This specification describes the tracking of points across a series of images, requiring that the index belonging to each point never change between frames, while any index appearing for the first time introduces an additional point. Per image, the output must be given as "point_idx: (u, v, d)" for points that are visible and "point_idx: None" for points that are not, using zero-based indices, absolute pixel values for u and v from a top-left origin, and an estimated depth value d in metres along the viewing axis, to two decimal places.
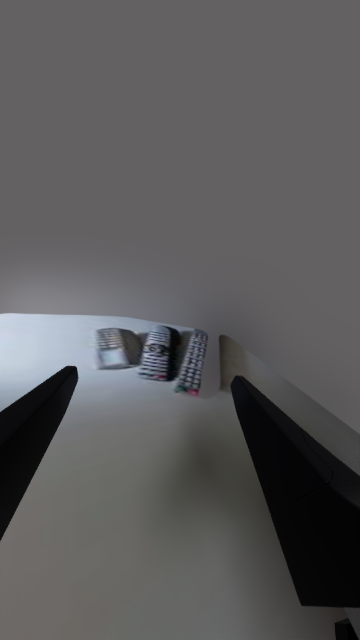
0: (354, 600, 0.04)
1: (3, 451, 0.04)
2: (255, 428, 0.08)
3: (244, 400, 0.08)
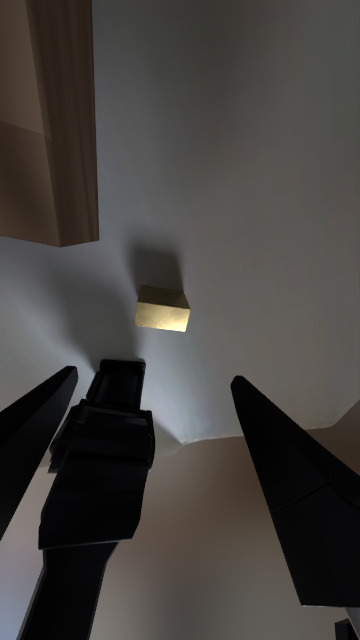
0: (354, 600, 0.04)
1: (3, 451, 0.04)
2: (255, 428, 0.08)
3: (244, 400, 0.08)
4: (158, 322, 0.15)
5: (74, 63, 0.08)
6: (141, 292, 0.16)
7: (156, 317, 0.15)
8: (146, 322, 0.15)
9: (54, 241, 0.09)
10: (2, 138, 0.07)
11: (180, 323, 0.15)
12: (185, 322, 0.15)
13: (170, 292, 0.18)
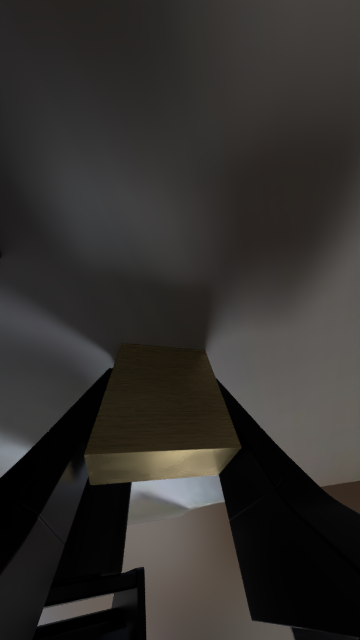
0: (295, 619, 0.04)
1: (79, 448, 0.05)
2: None
3: None
4: (154, 473, 0.06)
5: None
6: (112, 381, 0.07)
7: (147, 468, 0.05)
8: (121, 477, 0.06)
9: None
10: None
11: (210, 467, 0.06)
12: (222, 464, 0.06)
13: (180, 361, 0.08)
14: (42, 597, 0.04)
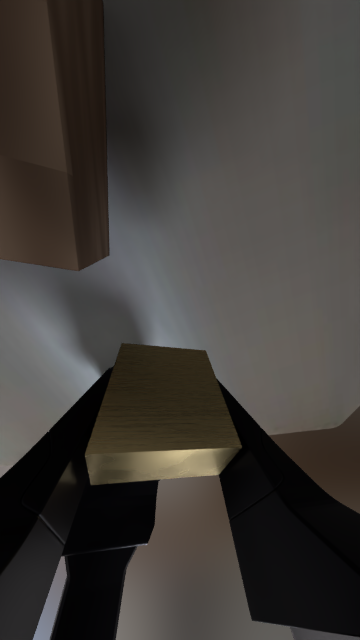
0: (295, 619, 0.04)
1: (79, 448, 0.05)
2: None
3: None
4: (155, 473, 0.06)
5: (90, 98, 0.09)
6: (113, 381, 0.07)
7: (148, 468, 0.05)
8: (121, 477, 0.06)
9: (73, 266, 0.10)
10: (28, 177, 0.07)
11: (210, 467, 0.06)
12: (223, 464, 0.06)
13: (181, 361, 0.08)
14: (42, 597, 0.04)
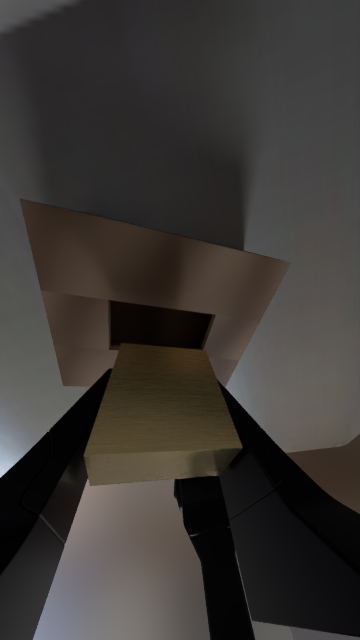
0: (295, 619, 0.04)
1: (79, 448, 0.05)
2: None
3: None
4: (154, 474, 0.06)
5: None
6: (112, 381, 0.07)
7: (148, 469, 0.05)
8: (121, 478, 0.06)
9: None
10: (220, 362, 0.15)
11: (210, 468, 0.06)
12: (223, 465, 0.06)
13: (180, 360, 0.08)
14: (42, 597, 0.04)
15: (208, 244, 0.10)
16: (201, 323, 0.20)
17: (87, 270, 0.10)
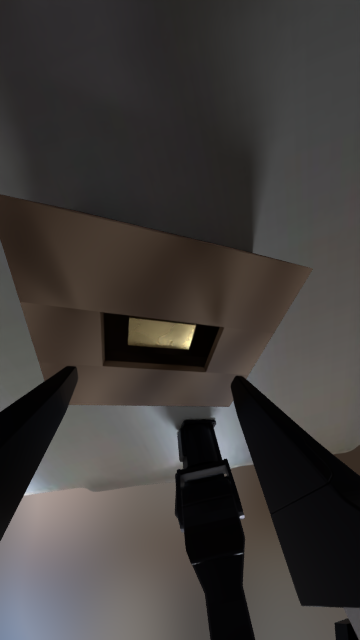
0: (354, 600, 0.04)
1: (3, 451, 0.04)
2: (255, 428, 0.08)
3: (244, 400, 0.08)
4: (156, 340, 0.12)
5: None
6: None
7: (154, 335, 0.12)
8: (142, 341, 0.12)
9: (227, 405, 0.16)
10: (227, 377, 0.14)
11: (183, 341, 0.13)
12: (189, 339, 0.13)
13: None
14: None
15: (218, 247, 0.08)
16: (204, 331, 0.19)
17: (74, 279, 0.08)
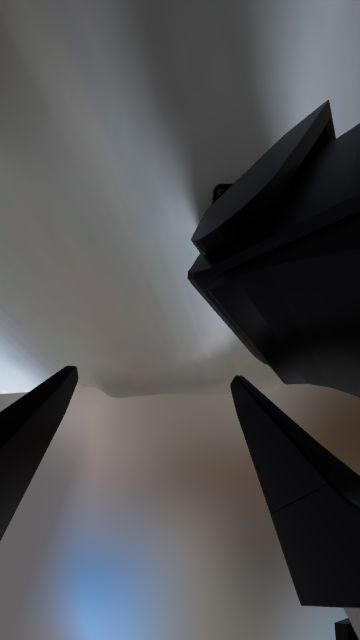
0: (354, 600, 0.04)
1: (3, 451, 0.04)
2: (255, 428, 0.08)
3: (244, 400, 0.08)
4: None
5: None
6: None
7: None
8: None
9: None
10: None
11: None
12: None
13: None
14: None
15: None
16: None
17: None
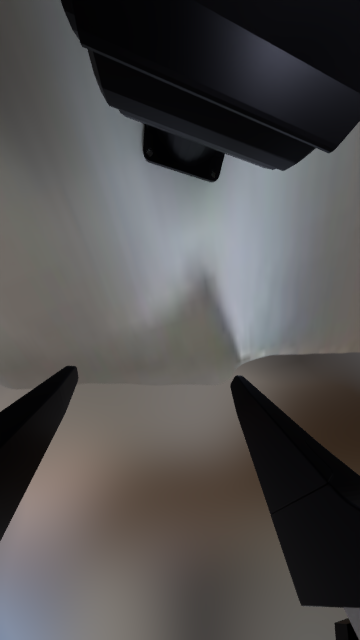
0: (354, 600, 0.04)
1: (3, 451, 0.04)
2: (255, 428, 0.08)
3: (244, 400, 0.08)
4: None
5: None
6: None
7: None
8: None
9: None
10: None
11: None
12: None
13: None
14: None
15: None
16: None
17: None
